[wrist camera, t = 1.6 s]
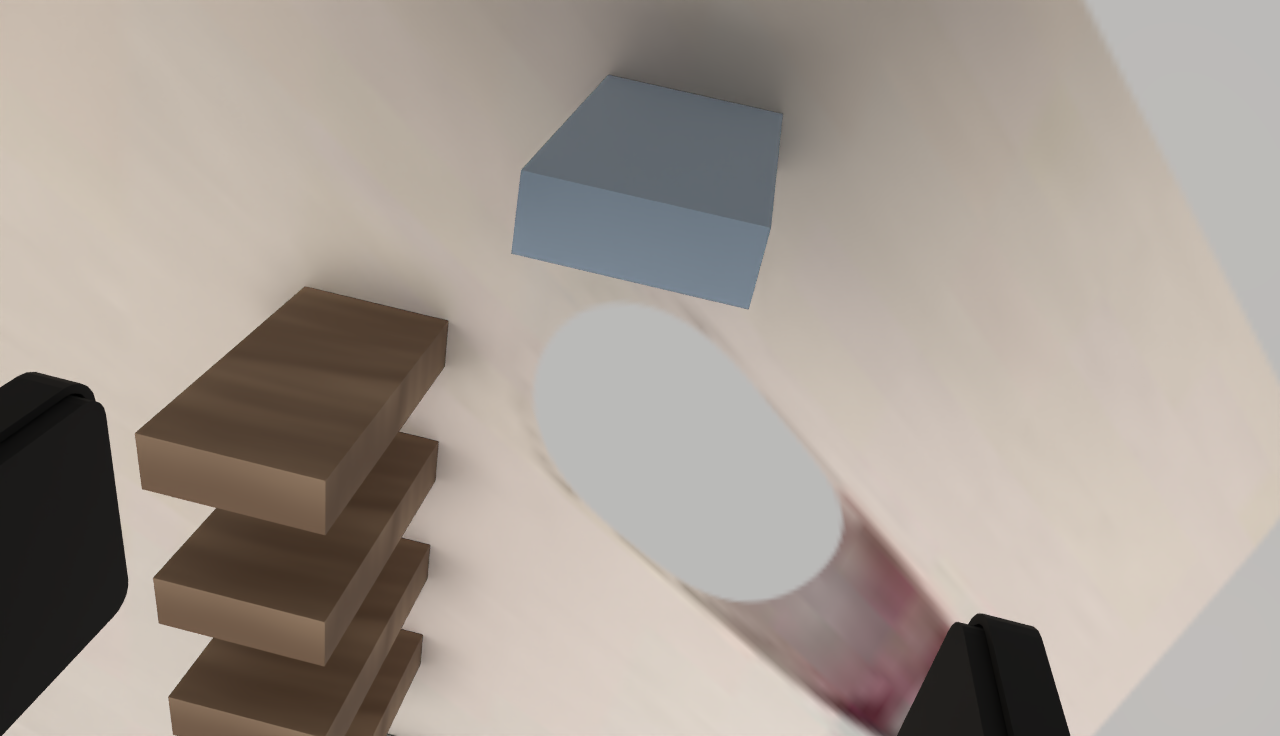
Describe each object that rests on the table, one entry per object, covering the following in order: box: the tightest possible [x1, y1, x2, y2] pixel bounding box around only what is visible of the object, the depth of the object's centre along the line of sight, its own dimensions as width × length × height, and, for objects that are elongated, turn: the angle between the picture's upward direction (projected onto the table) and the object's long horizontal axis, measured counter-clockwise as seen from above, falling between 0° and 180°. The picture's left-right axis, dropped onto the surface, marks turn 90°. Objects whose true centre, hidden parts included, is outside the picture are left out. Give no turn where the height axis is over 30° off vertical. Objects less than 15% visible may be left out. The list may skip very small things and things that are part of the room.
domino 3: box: [168, 538, 430, 736], centre depth 32 cm, size 2×5×9 cm, turn 80°
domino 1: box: [135, 287, 448, 535], centre depth 27 cm, size 2×5×9 cm, turn 80°
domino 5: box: [511, 75, 783, 309], centre depth 22 cm, size 2×5×9 cm, turn 80°
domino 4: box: [345, 629, 423, 736], centre depth 35 cm, size 2×5×9 cm, turn 80°
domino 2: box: [153, 432, 438, 667], centre depth 30 cm, size 2×5×9 cm, turn 80°
